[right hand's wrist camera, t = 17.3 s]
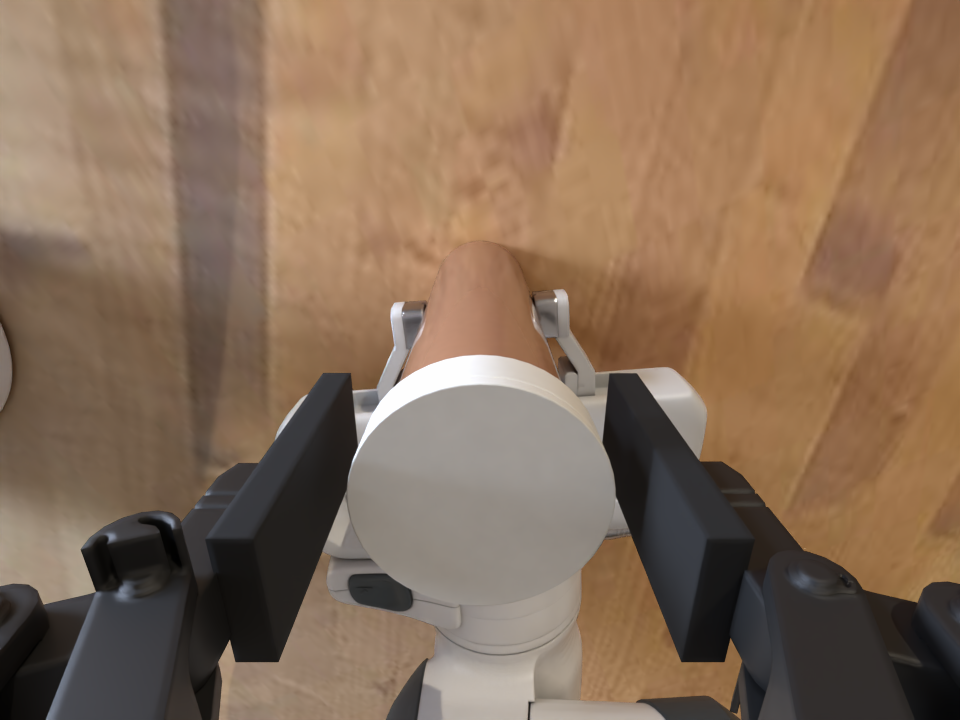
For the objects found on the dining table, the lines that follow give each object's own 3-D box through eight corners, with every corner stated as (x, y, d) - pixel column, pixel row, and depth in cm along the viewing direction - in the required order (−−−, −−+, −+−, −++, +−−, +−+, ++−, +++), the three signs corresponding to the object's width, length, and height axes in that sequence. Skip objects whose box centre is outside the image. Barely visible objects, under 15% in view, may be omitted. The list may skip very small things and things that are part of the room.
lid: (429, 308, 11) (422, 332, 9) (647, 424, 12) (671, 461, 10) (324, 501, 13) (304, 546, 11) (521, 587, 14) (526, 638, 12)
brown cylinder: (537, 304, 29) (624, 530, 12) (460, 340, 30) (433, 601, 13) (501, 225, 28) (539, 349, 10) (421, 264, 29) (326, 443, 11)
